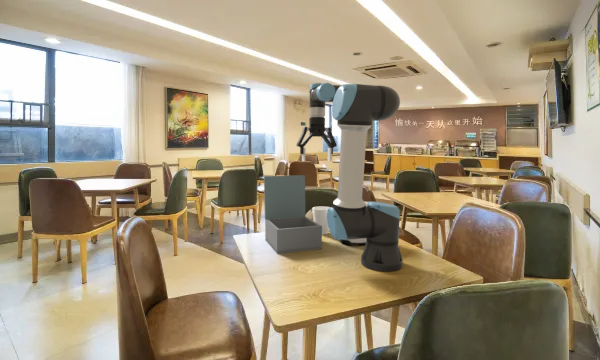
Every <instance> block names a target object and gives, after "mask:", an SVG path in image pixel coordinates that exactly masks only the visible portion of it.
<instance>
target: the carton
mask: <svg viewBox="0 0 600 360" xmlns="http://www.w3.org/2000/svg"><path fill="white" fill-rule="evenodd" d="M264 219H265V218H264ZM264 223H265V224H264V227H265V229H264V231H265V232H264V233H265V242H266V243H267V244H268V245H269V246H270V247H271V249H272V250H274V251H273V252H275V253H276V254H286V253H295V252H303V251H304V252H305V251H313V250H322V249H323V245H322V244H323V235H322V226H321V225H319V224H318V223H316V222H314V221H312V220H311V219H309V218H307V217H306V216H304V217H290V218H277V219H265V221H264Z"/></svg>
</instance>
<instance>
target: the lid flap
mask: <svg viewBox="0 0 600 360" xmlns="http://www.w3.org/2000/svg"><path fill="white" fill-rule="evenodd" d="M263 186H264V187H263V188H264V189H263V193H264V194H263V195H264V198H263V199H264V219H277V218H291V217H305V215H306V175H304V174H303V175H302V174H301V175H299V174H298V175H285V174H284V175H281V174H277V175H267V176H265V175H264V176H263Z"/></svg>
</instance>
